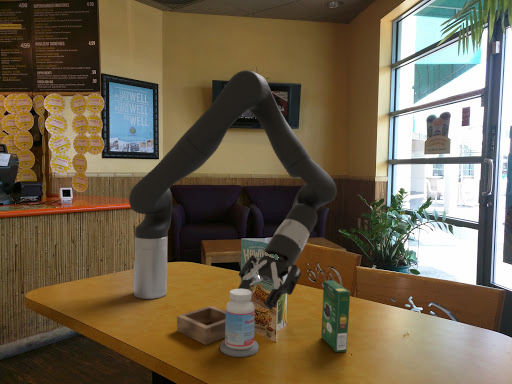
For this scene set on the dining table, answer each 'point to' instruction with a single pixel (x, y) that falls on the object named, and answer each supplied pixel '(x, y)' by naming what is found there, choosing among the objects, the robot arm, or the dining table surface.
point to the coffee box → (335, 315)
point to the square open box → (195, 321)
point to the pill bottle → (240, 320)
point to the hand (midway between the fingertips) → (252, 302)
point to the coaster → (239, 353)
